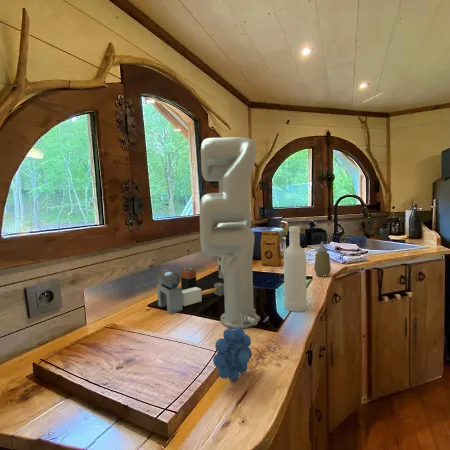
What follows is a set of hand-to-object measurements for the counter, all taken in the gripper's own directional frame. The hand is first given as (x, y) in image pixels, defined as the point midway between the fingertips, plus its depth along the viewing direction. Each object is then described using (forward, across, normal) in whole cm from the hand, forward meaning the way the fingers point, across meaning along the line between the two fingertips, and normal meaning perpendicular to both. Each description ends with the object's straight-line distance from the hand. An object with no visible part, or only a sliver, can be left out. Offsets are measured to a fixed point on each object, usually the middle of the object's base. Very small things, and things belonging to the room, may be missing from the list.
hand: (229, 289), depth 118 cm
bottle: (+1, +7, -31) cm, 32 cm away
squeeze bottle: (+1, +52, -13) cm, 53 cm away
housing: (+1, -29, 0) cm, 29 cm away
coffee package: (+1, +51, +23) cm, 56 cm away
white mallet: (+1, -14, 0) cm, 14 cm away
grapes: (+1, -36, -50) cm, 61 cm away
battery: (+1, -12, +16) cm, 20 cm away
